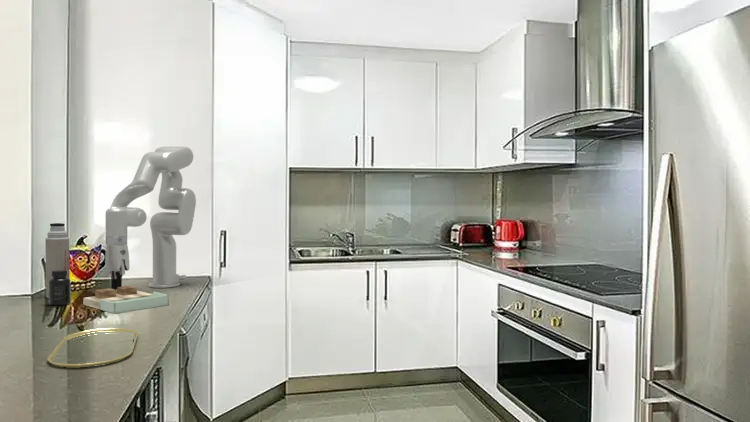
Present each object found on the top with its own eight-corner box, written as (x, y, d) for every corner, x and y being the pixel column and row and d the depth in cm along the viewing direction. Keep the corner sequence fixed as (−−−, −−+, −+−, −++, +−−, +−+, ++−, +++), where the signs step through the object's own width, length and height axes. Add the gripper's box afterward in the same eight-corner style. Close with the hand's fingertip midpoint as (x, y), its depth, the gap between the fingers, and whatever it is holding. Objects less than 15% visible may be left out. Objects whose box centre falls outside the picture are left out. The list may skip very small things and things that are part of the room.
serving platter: (140, 331, 166) (140, 326, 166) (129, 367, 133) (129, 360, 133) (69, 335, 160) (69, 330, 160) (38, 374, 127) (38, 367, 127)
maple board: (136, 297, 216) (136, 290, 216) (153, 301, 209) (153, 294, 209) (83, 304, 200) (83, 297, 200) (99, 309, 193) (99, 302, 193)
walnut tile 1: (129, 292, 212) (129, 285, 212) (136, 293, 209) (136, 287, 209) (116, 293, 208) (116, 287, 208) (123, 295, 205) (123, 288, 205)
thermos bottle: (73, 294, 219) (73, 222, 218) (62, 298, 211) (61, 224, 210) (53, 294, 219) (53, 222, 218) (41, 298, 211) (40, 223, 210)
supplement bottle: (74, 302, 204) (74, 269, 203) (62, 306, 197) (62, 272, 196) (57, 302, 204) (56, 269, 204) (44, 305, 198) (44, 271, 197)
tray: (154, 301, 208) (154, 291, 208) (168, 304, 203) (168, 295, 202) (100, 309, 193) (100, 299, 193) (114, 313, 187) (114, 303, 187)
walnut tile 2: (108, 295, 206) (108, 288, 206) (115, 296, 203) (115, 289, 203) (95, 296, 202) (95, 290, 202) (102, 298, 199) (102, 291, 199)
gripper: (136, 241, 211) (136, 290, 212) (116, 239, 220) (116, 285, 221) (116, 242, 205) (116, 292, 206) (97, 240, 214) (97, 288, 215)
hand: (116, 289), depth 213 cm, fingers closed
